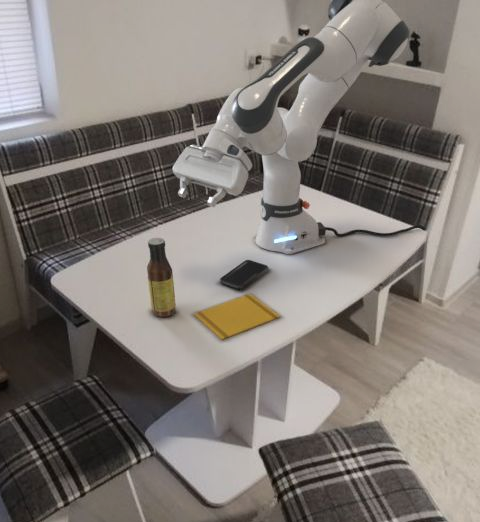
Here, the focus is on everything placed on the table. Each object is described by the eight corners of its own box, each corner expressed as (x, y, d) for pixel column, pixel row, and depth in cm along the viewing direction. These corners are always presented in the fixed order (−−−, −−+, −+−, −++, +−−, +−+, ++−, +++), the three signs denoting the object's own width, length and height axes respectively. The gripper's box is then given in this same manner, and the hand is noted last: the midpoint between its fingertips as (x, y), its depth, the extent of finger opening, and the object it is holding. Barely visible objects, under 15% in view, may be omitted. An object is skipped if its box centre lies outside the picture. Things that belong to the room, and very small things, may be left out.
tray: (250, 295, 143) (250, 293, 143) (280, 317, 134) (280, 315, 134) (194, 315, 135) (193, 313, 135) (221, 340, 126) (221, 338, 126)
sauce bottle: (180, 311, 136) (177, 241, 124) (163, 321, 133) (157, 249, 121) (163, 302, 140) (158, 233, 128) (146, 311, 136) (138, 241, 124)
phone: (218, 279, 147) (247, 259, 157) (218, 283, 148) (247, 262, 158) (242, 288, 144) (269, 266, 153) (241, 291, 144) (269, 269, 154)
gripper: (182, 136, 132) (158, 184, 132) (248, 152, 123) (222, 204, 122) (193, 150, 138) (170, 196, 137) (258, 166, 128) (233, 217, 128)
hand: (195, 200), depth 130 cm, fingers open, 8 cm apart
